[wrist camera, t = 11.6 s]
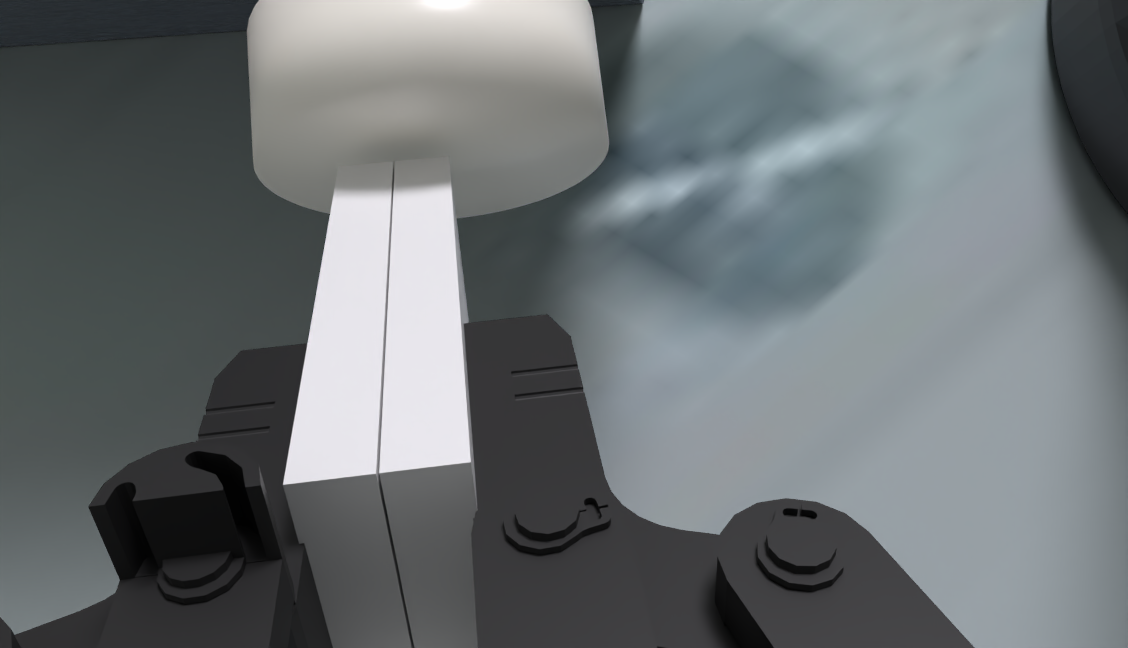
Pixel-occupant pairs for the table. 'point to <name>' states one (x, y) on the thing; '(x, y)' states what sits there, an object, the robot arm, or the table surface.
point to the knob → (427, 95)
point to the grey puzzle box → (130, 19)
